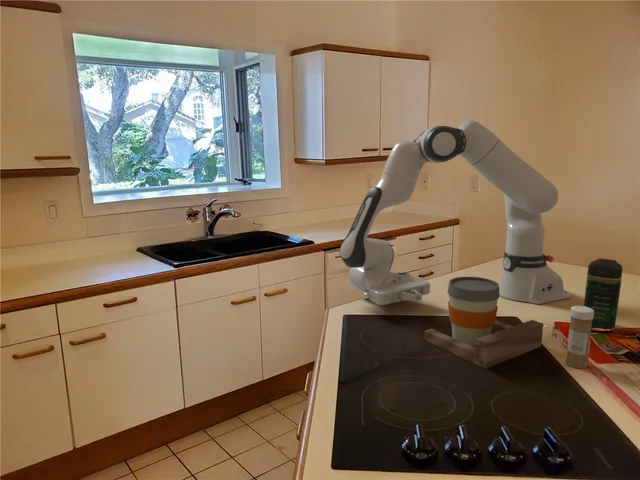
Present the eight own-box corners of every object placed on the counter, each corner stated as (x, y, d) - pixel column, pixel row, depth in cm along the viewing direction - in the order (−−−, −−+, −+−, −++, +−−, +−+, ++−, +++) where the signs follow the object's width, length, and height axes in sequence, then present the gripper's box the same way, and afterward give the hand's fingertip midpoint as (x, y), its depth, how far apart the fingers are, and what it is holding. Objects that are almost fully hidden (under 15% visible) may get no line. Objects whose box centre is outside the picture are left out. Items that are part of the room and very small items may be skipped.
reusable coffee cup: (507, 341, 120) (511, 285, 117) (474, 354, 113) (477, 294, 110) (467, 326, 130) (470, 273, 127) (435, 336, 124) (437, 281, 120)
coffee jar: (614, 336, 122) (622, 266, 119) (579, 329, 127) (586, 262, 123) (616, 324, 130) (624, 258, 126) (583, 318, 135) (590, 255, 131)
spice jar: (591, 365, 107) (598, 309, 104) (581, 371, 104) (587, 313, 102) (572, 358, 111) (577, 303, 108) (561, 363, 108) (566, 307, 105)
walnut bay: (424, 339, 122) (425, 317, 120) (478, 322, 133) (479, 302, 131) (485, 368, 106) (486, 343, 105) (541, 346, 117) (543, 323, 116)
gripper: (360, 282, 142) (391, 294, 130) (410, 271, 152) (443, 282, 141) (360, 302, 143) (390, 316, 132) (410, 290, 154) (442, 302, 142)
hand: (418, 298), depth 136 cm, fingers closed
